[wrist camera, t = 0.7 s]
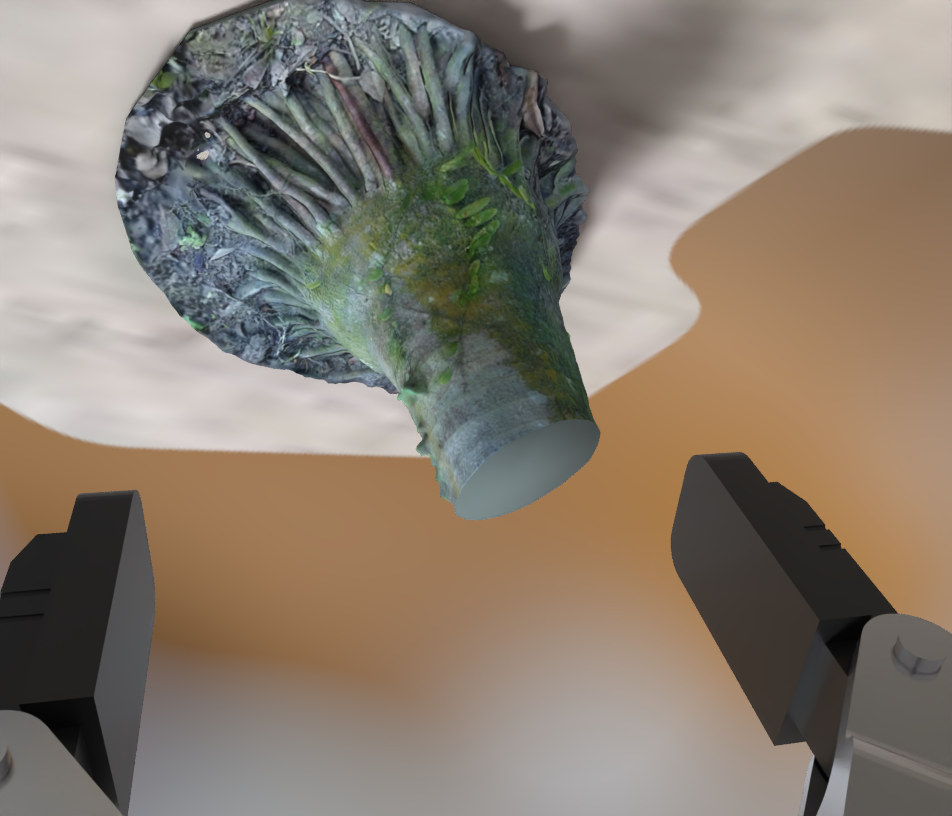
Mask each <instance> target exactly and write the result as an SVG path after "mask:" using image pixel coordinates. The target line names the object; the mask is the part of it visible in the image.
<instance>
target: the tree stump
mask: <svg viewBox="0 0 952 816" xmlns="http://www.w3.org/2000/svg"><path fill="white" fill-rule="evenodd" d="M547 84H548V81H547V79H543V78H541V77H540V76H539V74H538V72H537V71H534V70H528V69H525V68H523V67H517V66H514V65H511V64H509V63H508V62H507V59H506V56H505V54H504V53H503V52H500V51H498V50H496V49H494V48H491V47H490V46H488V45H486V44H484V43H482V42H481V40H480V39H479V37H478V36H477V35H476V34H475V33H473V32H471V31H469V30H465V29H461V28H459V27H457V26H455V25H453V24H451V23H450V22H448V21H446V20H444V19H442V18H440V17H438V16H436V15H434V14H432V13H430V12H428V11H426V10H424V9H422V8H420V7H418V6H416V5H414V4H412V3H405V2H376V1H363V0H270V1H268V2H265V3H262V4H260V5H257V6H254V7H251V8H249V9H246V10H243V11H241V12H238V13H235V14H232V15H230V16H227V17H224V18H221V19H219V20H216V21H213V22H211V23H208V24H205V25H202V26H200V27H197V28H194V29H192V30H191V31H190V32H189V33H188V34H187V36H186V37H185V38H184V40H183V41H182V43H181V44H180V45H179V47H178V48H177V49H176V51H175V52H174V53H173V55H172V56H171V58H170V59H169V60H168V62H167V63H166V64H165V66H164V67H163V68H162V69H161V71H160V72H159V73H158V75H157V76H156V77H155V79H154V80H153V82H152V83H151V84H150V86H149V87H148V88H147V90H146V91H145V93H144V94H143V95H142V97H141V98H140V100H139V101H138V102H137V104H136V105H135V107H134V108H133V109H132V111H131V112H130V114H129V115H128V116H127V118H126V122H125V128H124V133H123V137H122V142H121V148H120V154H119V161H118V166H117V172H116V175H115V184H116V193H117V202H118V208H119V211H120V214H121V217H122V220H123V223H124V226H125V229H126V232H127V236H128V239H129V242H130V245H131V249H132V251H133V253H134V255H135V257H136V259H137V261H138V262H139V264H140V265H141V267H142V268H143V269H144V271H145V272H146V273H147V275H148V276H149V277H150V278H151V280H152V281H153V282H154V283H155V284H156V285H157V286H158V287H159V288H160V289H161V290H162V291H163V292H164V293H165V295H166V296H167V298H168V300H169V301H170V303H171V305H172V306H173V307H174V308H175V310H176V311H177V312H178V314H179V315H180V316H181V317H182V318H184V319H185V320H186V321H187V322H188V323H189V324H190V325H191V326H192V327H193V328H194V329H195V330H196V331H197V332H199V333H200V334H202V335H204V336H205V337H207V338H208V339H210V340H211V341H212V342H213V343H214V344H216V345H217V346H218V347H219V348H220V349H221V350H222V351H224V352H225V353H230V354H233V355H236V356H237V357H239V358H241V359H242V360H244V361H247V362H249V363H252V364H256V365H260V366H265V367H269V368H274V369H283V370H285V369H289V370H291V371H294V372H295V373H297V374H300V375H303V376H304V377H312V378H314V379H323V380H325V381H327V382H328V383H334V384H337V383H349V382H360V383H363V384H365V385H367V386H368V387H375V386H377V387H381V388H383V389H385V390H386V391H387V392H388V393H390V394H398V393H399V395H398V397H397V399H398V400H402V402H403V403H404V404H405V406H406V407H407V408H408V410H409V412H410V415H411V417H412V419H413V421H414V423H415V425H416V427H417V432H418V433H420V435H421V437H422V441H421V442H420V443H419V444H418V446H417V448H416V450H417V452H418V453H420V455H421V456H425V455H429V456H430V460H431V463H432V466H434V467H435V468H436V481H438V482H439V484H440V488H441V489H440V490H441V491H440V496H441V497H442V498H444V499H446V500H448V501H449V502H451V503H452V504H453V506H454V509H455V512H456V515H457V516H459V517H462V518H464V519H468V520H484V519H488V518H495V517H499V516H502V515H505V514H508V513H511V512H513V511H515V510H518V509H520V508H522V507H524V506H527V505H529V504H531V503H532V502H534V501H536V500H538V499H539V498H541V497H543V496H544V495H546V494H547V493H549V492H551V491H552V490H554V489H555V488H557V487H558V486H560V485H561V484H563V483H564V482H565V481H566V480H567V479H568V478H570V477H571V476H572V475H574V474H575V473H576V472H577V471H578V470H580V469H581V468H582V467H583V466H584V465H585V464H586V463H587V462H588V461H589V460H590V458H591V457H592V455H593V453H594V451H595V449H596V447H597V445H598V442H599V438H600V430H599V428H598V426H597V425H596V423H595V421H594V419H593V416H592V413H591V410H590V408H589V402H588V397H587V393H586V390H585V387H584V384H583V382H582V378H581V374H580V371H579V367H578V364H577V362H576V358H575V354H574V350H573V348H572V345H571V342H570V335H569V333H568V332H567V331H566V329H565V326H564V322H563V317H562V314H561V311H560V307H559V299H560V297H561V294H562V293H563V291H564V289H565V288H566V287H567V285H568V284H569V282H570V280H571V278H570V270H571V266H570V263H571V256H572V251H573V249H574V247H575V245H576V244H577V241H576V239H577V238H578V237H579V225H581V224H583V223H584V222H585V221H586V220H587V215H586V213H585V212H584V211H583V209H582V203H583V201H585V198H586V196H587V194H588V193H589V189H588V188H587V186H586V185H585V184H584V182H583V181H582V180H581V179H580V177H579V176H577V174H576V171H575V163H576V159H575V154H576V152H577V151H578V149H577V148H576V143H575V140H574V138H573V137H572V135H571V126H570V123H569V120H568V118H567V117H566V116H565V115H564V114H562V113H561V111H560V110H559V109H558V108H557V107H556V105H555V104H554V103H553V102H552V101H551V100H550V99H549V98H548V97H547V96H546V91H547ZM205 132H208V133H210V137H209V138H206V137H205ZM198 148H199V151H197V150H198ZM205 150H208V151H209V156H208V158H207V159H206V160H203V161H201V160H200V159H197V156H196V155H198V154H199V153H201V152H203V151H205Z"/></svg>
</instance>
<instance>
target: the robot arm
mask: <svg viewBox="0 0 952 816" xmlns="http://www.w3.org/2000/svg"><path fill="white" fill-rule="evenodd" d="M671 552H672V559H673V563H674V566H675V569H676V572H677V574H678V576H679V578H680V579H681V581H682V583H683V584H684V586H685V588H686V590H687V592H688V593H689V595H690V597H691V599H692V601H693V602H694V604H695V606H696V608H697V609H698V611H699V613H700V615H701V617H702V618H703V620H704V622H705V624H706V625H707V627H708V629H709V631H710V632H711V634H712V636H713V638H714V640H715V641H716V643H717V645H718V646H719V648H720V650H721V652H722V654H723V656H724V657H725V659H726V661H727V663H728V664H729V666H730V668H731V670H732V671H733V673H734V675H735V677H736V679H737V680H738V682H739V684H740V685H741V687H742V689H743V691H744V693H745V694H746V696H747V698H748V700H749V702H750V703H751V705H752V707H753V709H754V710H755V712H756V714H757V716H758V717H759V719H760V721H761V723H762V725H763V726H764V728H765V730H766V732H767V734H768V735H769V737H770V739H771V740H772V742H773V744H774V745H775V746H776V745H783V744H791V743H798V742H805V741H806V742H807V744H808V746H809V747H810V749H811V751H812V752H813V756H812V758H811V761H810V763H809V766H808V769H807V773H806V779H805V783H804V789H803V793H802V799H801V804H800V809H799V814H798V816H952V634H951V633H950V632H948V631H947V630H945V629H943V628H941V627H940V626H938V625H936V624H934V623H932V622H929V621H927V620H924V619H922V618H918V617H915V616H911V615H905V614H898V613H897V612H896V611H895V609H894V608H893V607H892V606H891V604H890V603H889V602H888V601H887V599H886V598H885V597H884V596H883V595H882V593H881V592H880V591H879V590H878V589H877V587H876V586H875V585H874V584H873V582H872V581H871V580H870V579H869V577H868V576H867V575H866V574H865V573H864V572H863V570H862V569H861V568H860V566H859V565H858V564H857V563H856V562H855V560H854V559H853V558H852V557H851V555H850V554H849V553H848V552H847V551H846V549H841V543H840V542H839V541H838V540H837V538H836V537H835V536H834V535H833V534H832V532H831V531H830V530H829V529H828V530H826V529H825V524H824V523H823V521H822V520H821V519H820V518H819V517H818V515H817V514H816V513H815V512H814V510H813V509H812V508H811V507H810V505H809V504H808V503H807V502H806V501H805V500H803V499H802V498H800V497H799V496H797V495H796V494H794V493H793V492H791V491H790V490H788V489H787V488H786V487H784V486H783V485H781V484H780V483H778V482H770V483H768V481H767V480H766V479H765V477H764V476H763V475H762V474H761V472H760V471H759V470H758V469H757V467H756V466H755V465H754V464H753V462H752V461H751V460H750V458H749V457H748V456H747V455H746V454H744V453H742V452H734V453H717V454H703V455H694V456H693V457H691V459H690V460H689V462H688V464H687V468H686V472H685V476H684V481H683V485H682V489H681V494H680V498H679V502H678V507H677V511H676V516H675V520H674V524H673V529H672V534H671ZM0 595H1V597H0V816H127V815H128V808H129V801H130V794H131V786H132V779H133V772H134V765H135V756H136V750H137V742H138V735H139V728H140V721H141V713H142V706H143V698H144V691H145V684H146V677H147V670H148V662H149V655H150V648H151V640H152V633H153V626H154V617H155V586H154V576H153V569H152V563H151V557H150V551H149V545H148V539H147V533H146V527H145V520H144V514H143V509H142V502H141V498H140V495H139V492H138V491H137V490H128V491H113V492H99V493H82V494H79V495H78V496H77V498H76V501H75V505H74V509H73V513H72V516H71V519H70V523H69V526H68V530H67V532H64V533H51V534H38V535H36V536H35V537H34V538H33V539H32V541H30V543H29V544H28V545H27V546H26V547H25V548H24V549H23V550H22V551H21V552H20V553H19V554H18V555H17V556H16V557H15V558H14V559H13V560H12V562H11V563H10V566H9V569H8V572H7V575H6V577H5V581H4V583H3V587H2V589H1V592H0Z"/></svg>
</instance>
